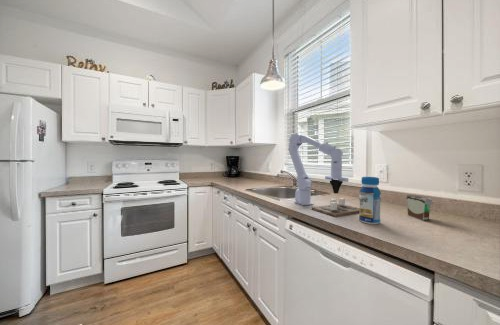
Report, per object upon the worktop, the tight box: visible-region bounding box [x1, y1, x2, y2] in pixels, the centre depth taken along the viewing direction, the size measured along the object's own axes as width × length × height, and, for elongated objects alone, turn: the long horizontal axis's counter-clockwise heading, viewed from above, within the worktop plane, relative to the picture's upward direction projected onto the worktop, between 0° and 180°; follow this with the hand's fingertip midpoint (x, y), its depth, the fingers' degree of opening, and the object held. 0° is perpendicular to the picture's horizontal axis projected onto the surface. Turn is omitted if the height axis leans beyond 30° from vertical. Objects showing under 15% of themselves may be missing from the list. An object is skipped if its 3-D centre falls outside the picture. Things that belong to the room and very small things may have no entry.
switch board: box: [311, 203, 360, 218], centre depth 111 cm, size 16×22×2 cm
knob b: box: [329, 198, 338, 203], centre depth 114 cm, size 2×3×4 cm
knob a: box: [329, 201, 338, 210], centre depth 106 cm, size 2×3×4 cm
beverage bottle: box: [358, 176, 382, 225], centre depth 92 cm, size 8×8×20 cm
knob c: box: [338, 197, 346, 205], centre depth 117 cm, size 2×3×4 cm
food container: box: [405, 194, 434, 222], centre depth 98 cm, size 12×6×10 cm, turn 179°
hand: (335, 193), depth 118 cm, fingers closed
